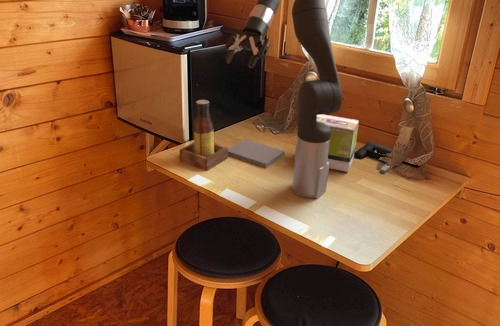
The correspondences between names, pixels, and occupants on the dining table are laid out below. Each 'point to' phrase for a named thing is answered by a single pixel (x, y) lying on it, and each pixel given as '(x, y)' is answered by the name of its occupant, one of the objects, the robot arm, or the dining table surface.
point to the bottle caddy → (200, 161)
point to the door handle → (373, 153)
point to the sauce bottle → (203, 130)
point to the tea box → (341, 141)
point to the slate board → (255, 153)
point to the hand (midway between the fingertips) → (238, 64)
